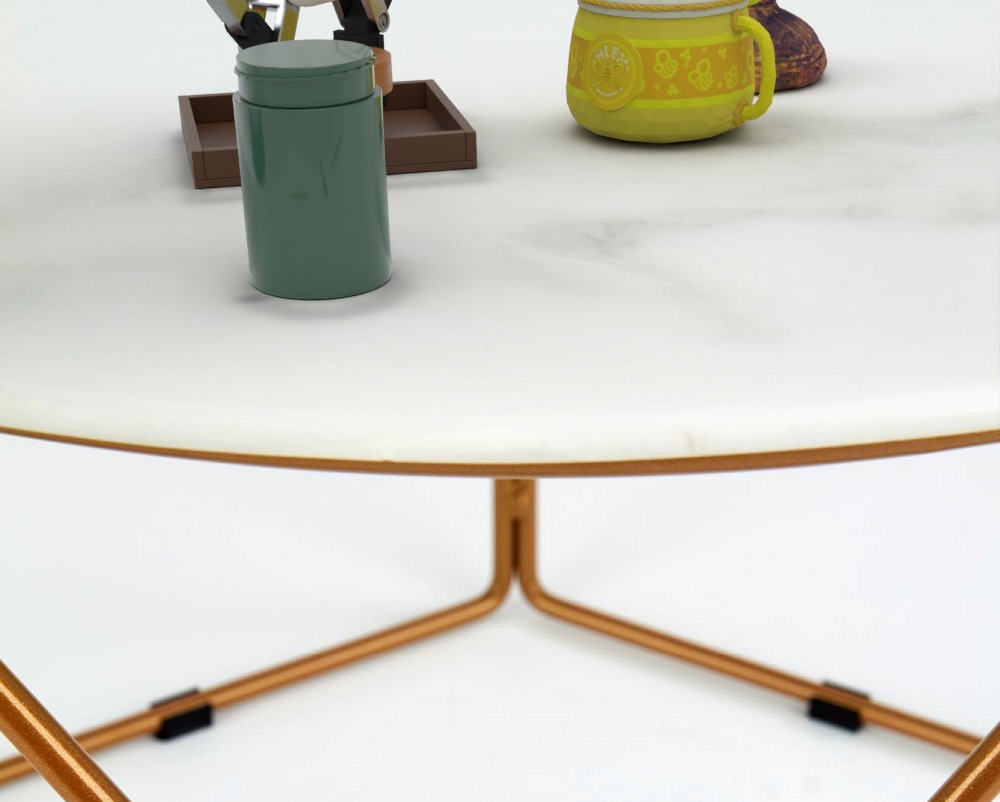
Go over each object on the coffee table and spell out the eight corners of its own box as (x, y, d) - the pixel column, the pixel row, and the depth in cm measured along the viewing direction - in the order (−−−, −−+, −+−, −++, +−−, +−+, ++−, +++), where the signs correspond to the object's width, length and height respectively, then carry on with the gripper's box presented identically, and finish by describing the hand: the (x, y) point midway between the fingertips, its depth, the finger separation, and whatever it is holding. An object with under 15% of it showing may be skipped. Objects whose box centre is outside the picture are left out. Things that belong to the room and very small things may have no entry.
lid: (408, 97, 93) (406, 62, 92) (286, 110, 91) (283, 74, 90) (374, 73, 99) (372, 40, 98) (258, 84, 97) (255, 51, 96)
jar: (392, 297, 75) (379, 66, 70) (246, 302, 75) (222, 71, 70) (391, 252, 81) (380, 35, 75) (255, 257, 80) (234, 40, 75)
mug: (526, 135, 98) (524, -96, 92) (632, 98, 106) (638, -119, 99) (718, 169, 92) (730, -78, 85) (817, 126, 99) (836, -104, 92)
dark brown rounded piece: (782, 103, 104) (791, -27, 100) (608, 83, 109) (610, -42, 105) (855, 66, 112) (866, -56, 108) (690, 48, 117) (695, -68, 113)
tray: (195, 188, 90) (191, 151, 89) (181, 129, 101) (177, 95, 100) (477, 167, 93) (476, 131, 92) (434, 111, 104) (433, 78, 103)
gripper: (240, -232, 79) (276, 165, 89) (453, -257, 91) (464, 95, 101) (120, -235, 82) (168, 147, 92) (340, -259, 94) (362, 82, 104)
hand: (322, 117), depth 96 cm, fingers closed on lid, 6 cm apart
